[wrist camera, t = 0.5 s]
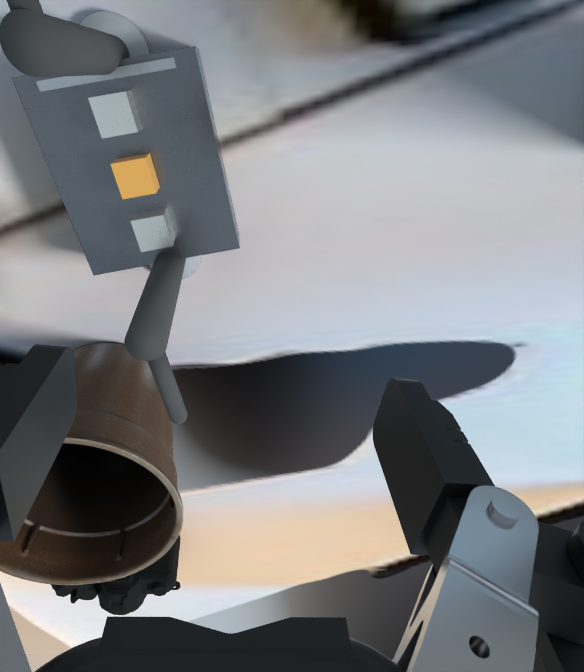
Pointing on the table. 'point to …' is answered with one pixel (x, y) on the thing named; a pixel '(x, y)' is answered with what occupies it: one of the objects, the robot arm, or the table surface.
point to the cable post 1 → (67, 42)
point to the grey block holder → (130, 140)
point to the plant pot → (104, 481)
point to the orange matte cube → (135, 176)
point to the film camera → (129, 585)
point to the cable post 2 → (160, 326)
